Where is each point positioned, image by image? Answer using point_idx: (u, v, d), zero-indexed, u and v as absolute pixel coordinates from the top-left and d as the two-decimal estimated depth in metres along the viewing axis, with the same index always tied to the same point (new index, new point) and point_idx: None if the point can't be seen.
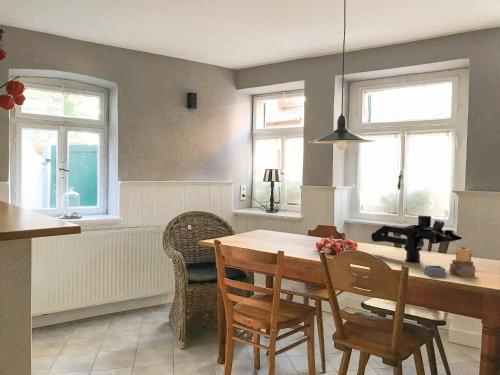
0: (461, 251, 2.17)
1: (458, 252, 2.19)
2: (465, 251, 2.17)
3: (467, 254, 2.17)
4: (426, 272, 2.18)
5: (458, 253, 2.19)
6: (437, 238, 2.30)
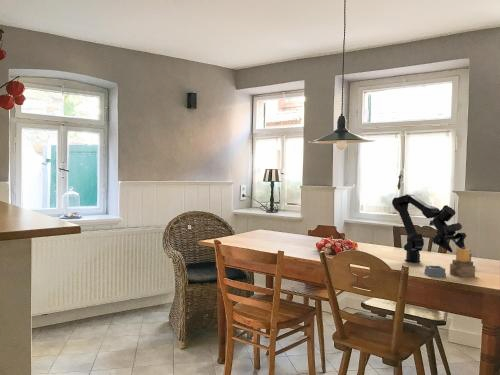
0: (461, 251, 2.17)
1: (458, 252, 2.19)
2: (465, 251, 2.17)
3: (467, 254, 2.17)
4: (426, 272, 2.18)
5: (458, 253, 2.19)
6: (440, 242, 2.23)
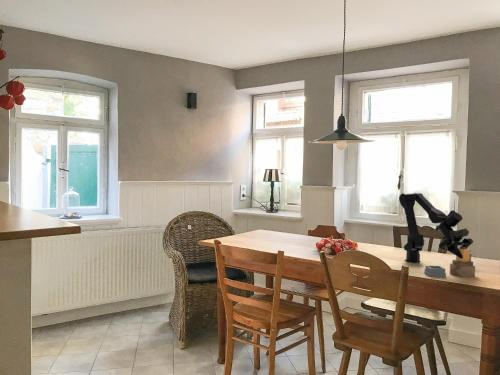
0: (461, 251, 2.17)
1: None
2: (465, 251, 2.17)
3: (467, 254, 2.17)
4: (426, 272, 2.18)
5: None
6: (450, 247, 2.20)
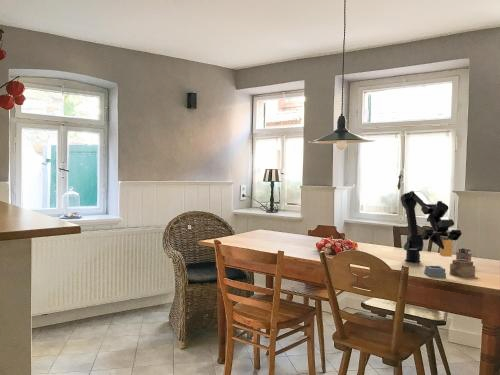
0: (443, 241, 2.15)
1: None
2: (446, 242, 2.14)
3: (449, 245, 2.14)
4: (426, 272, 2.18)
5: None
6: (433, 238, 2.19)
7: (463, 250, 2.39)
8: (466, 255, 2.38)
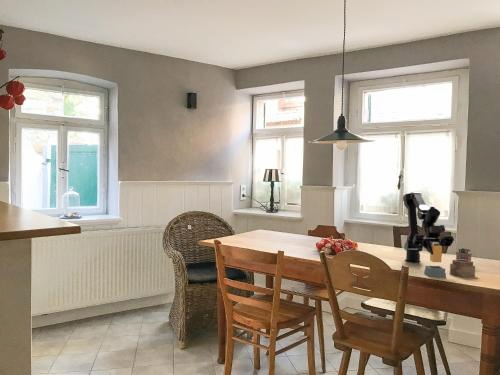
0: (432, 247, 2.15)
1: None
2: (436, 247, 2.14)
3: (438, 251, 2.14)
4: (426, 272, 2.18)
5: None
6: (423, 243, 2.20)
7: (463, 250, 2.39)
8: (466, 255, 2.38)
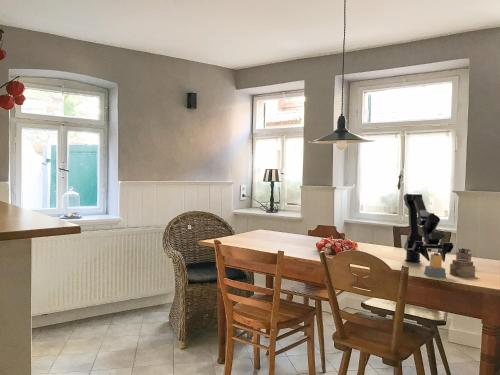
0: (432, 257, 2.15)
1: (431, 258, 2.17)
2: (435, 257, 2.14)
3: (438, 260, 2.14)
4: (426, 272, 2.18)
5: (431, 259, 2.17)
6: (420, 250, 2.20)
7: (463, 250, 2.39)
8: (466, 255, 2.38)
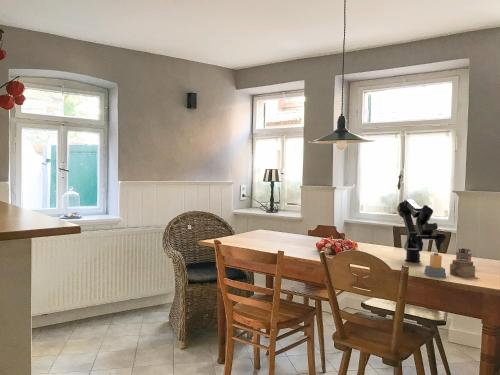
0: (432, 257, 2.15)
1: (430, 258, 2.17)
2: (435, 257, 2.14)
3: (438, 260, 2.14)
4: (426, 272, 2.18)
5: (430, 259, 2.17)
6: (412, 240, 2.29)
7: (463, 250, 2.39)
8: (466, 255, 2.38)
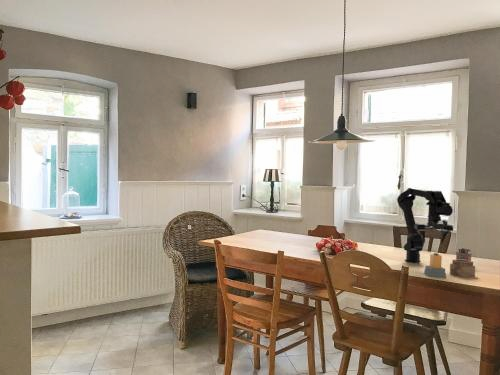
0: (432, 257, 2.15)
1: (430, 258, 2.17)
2: (435, 257, 2.14)
3: (438, 260, 2.14)
4: (426, 272, 2.18)
5: (430, 259, 2.17)
6: (419, 230, 2.35)
7: (463, 250, 2.39)
8: (466, 255, 2.38)
